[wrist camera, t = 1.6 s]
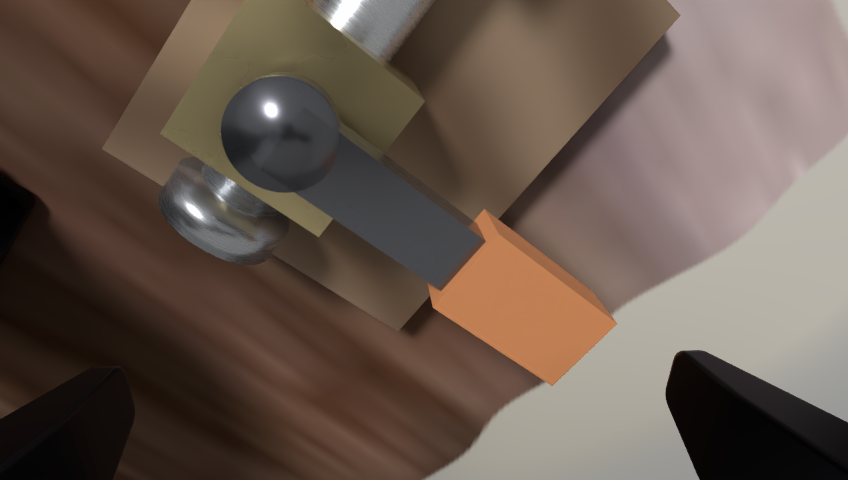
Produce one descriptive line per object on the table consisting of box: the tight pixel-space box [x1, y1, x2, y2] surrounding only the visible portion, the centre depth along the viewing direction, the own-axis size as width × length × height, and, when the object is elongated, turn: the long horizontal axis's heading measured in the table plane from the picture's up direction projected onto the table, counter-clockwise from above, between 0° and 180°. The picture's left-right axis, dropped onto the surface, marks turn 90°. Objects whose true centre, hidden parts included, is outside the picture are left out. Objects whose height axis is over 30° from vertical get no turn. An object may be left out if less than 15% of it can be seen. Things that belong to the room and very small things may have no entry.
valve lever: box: [221, 72, 617, 386], centre depth 14 cm, size 11×3×2 cm, turn 51°
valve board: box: [102, 0, 680, 331], centre depth 16 cm, size 16×13×7 cm
